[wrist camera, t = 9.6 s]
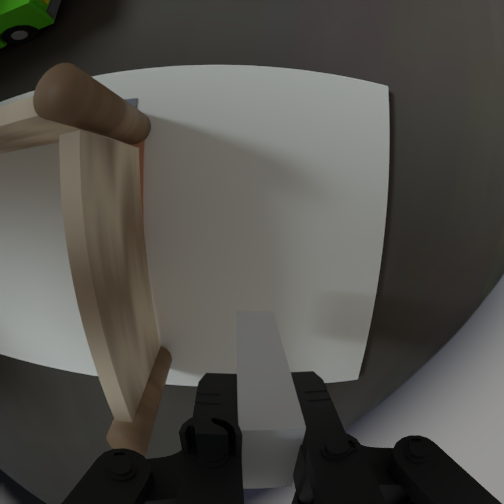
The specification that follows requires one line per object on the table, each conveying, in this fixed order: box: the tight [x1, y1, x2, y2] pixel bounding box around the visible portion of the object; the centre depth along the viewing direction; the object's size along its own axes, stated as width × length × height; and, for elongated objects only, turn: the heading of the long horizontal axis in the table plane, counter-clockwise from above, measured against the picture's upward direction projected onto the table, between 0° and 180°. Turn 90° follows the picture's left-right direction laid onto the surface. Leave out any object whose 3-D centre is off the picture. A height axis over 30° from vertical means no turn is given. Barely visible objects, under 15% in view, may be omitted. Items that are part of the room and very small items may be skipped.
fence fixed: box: [0, 63, 151, 154], centre depth 10 cm, size 14×2×8 cm, turn 88°
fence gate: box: [59, 130, 172, 455], centre depth 12 cm, size 13×2×7 cm, turn 2°
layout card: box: [0, 65, 390, 386], centre depth 16 cm, size 28×19×1 cm
